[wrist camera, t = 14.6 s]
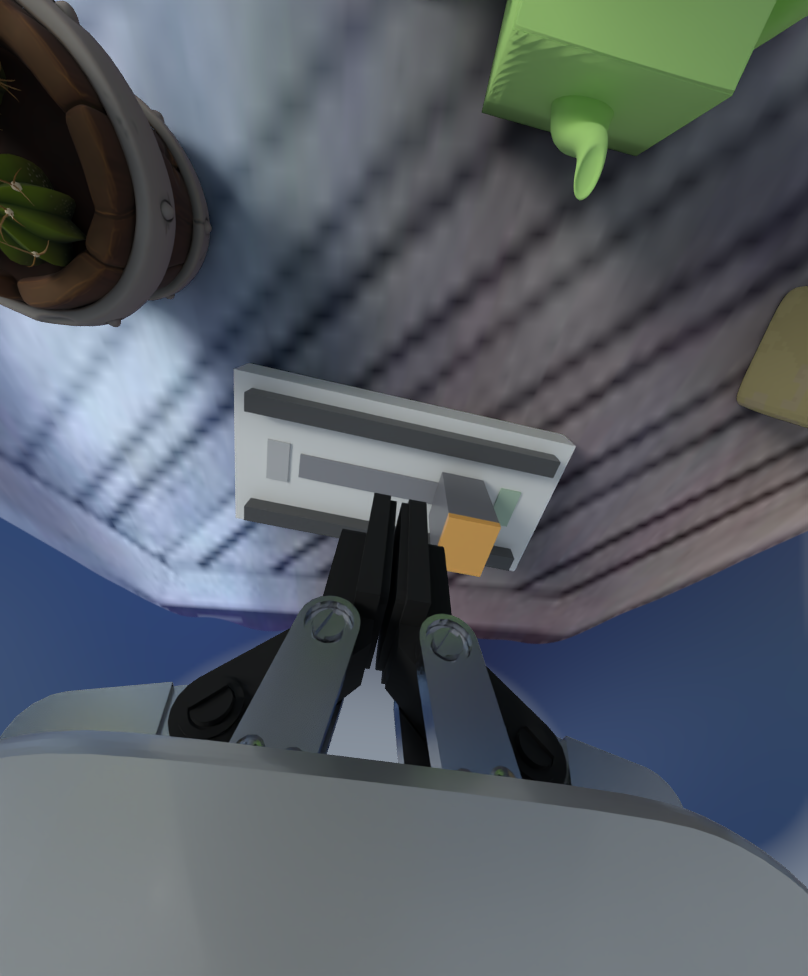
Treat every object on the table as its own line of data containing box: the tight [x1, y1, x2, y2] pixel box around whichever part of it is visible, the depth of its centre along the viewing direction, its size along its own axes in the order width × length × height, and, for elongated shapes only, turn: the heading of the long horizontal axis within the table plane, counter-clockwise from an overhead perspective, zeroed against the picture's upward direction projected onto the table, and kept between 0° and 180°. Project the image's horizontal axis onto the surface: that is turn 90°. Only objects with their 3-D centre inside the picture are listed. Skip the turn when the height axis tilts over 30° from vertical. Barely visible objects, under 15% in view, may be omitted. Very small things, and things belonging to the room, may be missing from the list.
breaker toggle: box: [429, 472, 501, 577], centre depth 30 cm, size 5×4×8 cm
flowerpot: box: [0, 0, 212, 327], centre depth 18 cm, size 14×15×20 cm
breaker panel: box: [234, 363, 576, 571], centre depth 34 cm, size 15×30×5 cm, turn 78°
